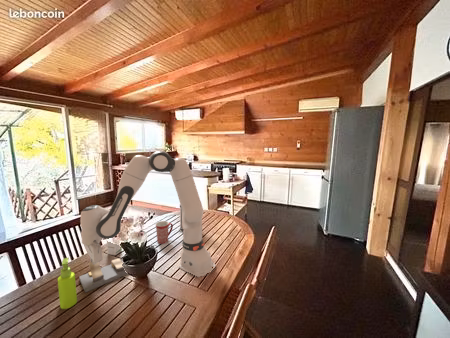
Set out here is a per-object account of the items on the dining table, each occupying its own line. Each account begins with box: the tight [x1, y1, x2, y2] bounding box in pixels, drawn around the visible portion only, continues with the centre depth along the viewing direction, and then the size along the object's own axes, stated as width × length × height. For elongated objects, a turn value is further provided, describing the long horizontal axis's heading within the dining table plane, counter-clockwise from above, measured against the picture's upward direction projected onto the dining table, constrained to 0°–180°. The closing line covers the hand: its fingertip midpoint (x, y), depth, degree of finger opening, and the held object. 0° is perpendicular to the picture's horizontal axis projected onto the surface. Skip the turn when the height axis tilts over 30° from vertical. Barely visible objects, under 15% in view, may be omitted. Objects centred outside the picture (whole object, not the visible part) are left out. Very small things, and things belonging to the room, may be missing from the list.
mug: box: [155, 220, 174, 244], centre depth 145 cm, size 13×9×14 cm
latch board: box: [79, 259, 128, 293], centre depth 107 cm, size 12×23×3 cm, turn 136°
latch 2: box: [110, 257, 124, 272], centre depth 111 cm, size 11×4×1 cm, turn 46°
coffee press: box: [178, 204, 183, 232], centre depth 165 cm, size 17×16×30 cm
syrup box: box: [106, 240, 123, 256], centre depth 128 cm, size 6×6×14 cm
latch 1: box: [87, 261, 104, 282], centre depth 102 cm, size 11×4×1 cm
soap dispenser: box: [57, 257, 78, 310], centre depth 88 cm, size 6×7×20 cm
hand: (93, 262), depth 104 cm, fingers closed
